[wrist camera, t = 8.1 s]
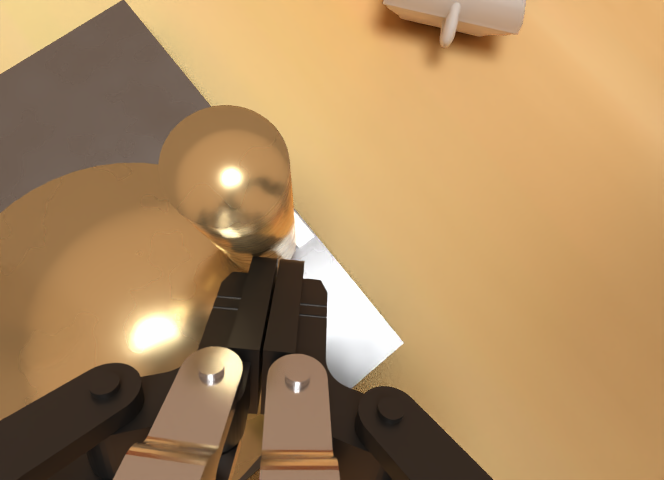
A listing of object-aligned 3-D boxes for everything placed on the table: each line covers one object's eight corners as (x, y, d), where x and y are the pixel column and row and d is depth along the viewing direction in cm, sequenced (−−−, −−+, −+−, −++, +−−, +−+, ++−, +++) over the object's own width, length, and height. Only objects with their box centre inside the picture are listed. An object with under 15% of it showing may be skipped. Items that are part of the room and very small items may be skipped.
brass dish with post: (21, 151, 18) (-276, -31, 9) (328, 205, 19) (352, 84, 9) (-88, 487, 16) (-667, 727, 6) (270, 541, 16) (223, 843, 7)
